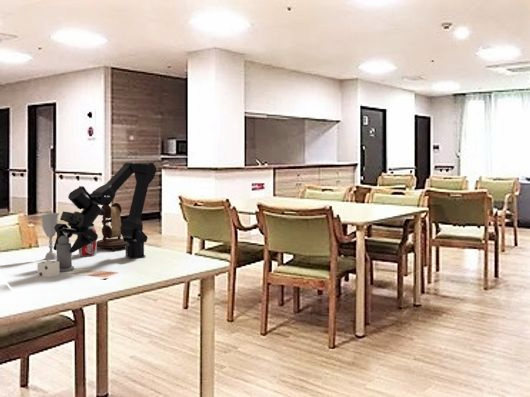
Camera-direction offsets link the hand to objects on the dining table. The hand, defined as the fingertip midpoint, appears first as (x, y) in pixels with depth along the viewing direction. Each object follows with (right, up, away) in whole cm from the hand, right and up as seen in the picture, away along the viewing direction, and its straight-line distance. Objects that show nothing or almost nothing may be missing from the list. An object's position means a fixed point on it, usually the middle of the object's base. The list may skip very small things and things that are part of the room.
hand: (62, 250), depth 201 cm
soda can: (-1, -5, +31) cm, 31 cm away
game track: (+8, -8, -2) cm, 11 cm away
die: (-2, -8, -6) cm, 11 cm away
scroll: (+5, -3, +48) cm, 49 cm away
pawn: (0, -7, +1) cm, 7 cm away
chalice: (-13, -5, +25) cm, 29 cm away
